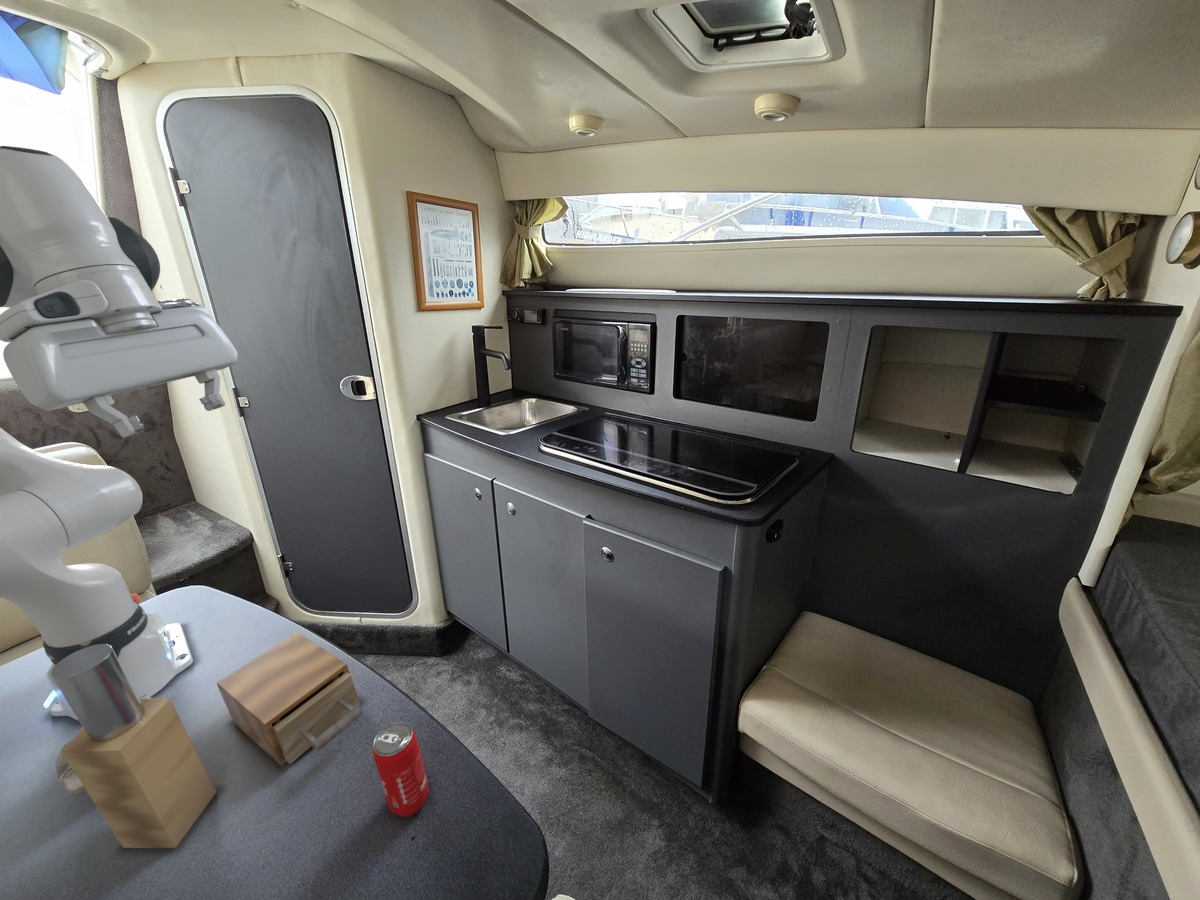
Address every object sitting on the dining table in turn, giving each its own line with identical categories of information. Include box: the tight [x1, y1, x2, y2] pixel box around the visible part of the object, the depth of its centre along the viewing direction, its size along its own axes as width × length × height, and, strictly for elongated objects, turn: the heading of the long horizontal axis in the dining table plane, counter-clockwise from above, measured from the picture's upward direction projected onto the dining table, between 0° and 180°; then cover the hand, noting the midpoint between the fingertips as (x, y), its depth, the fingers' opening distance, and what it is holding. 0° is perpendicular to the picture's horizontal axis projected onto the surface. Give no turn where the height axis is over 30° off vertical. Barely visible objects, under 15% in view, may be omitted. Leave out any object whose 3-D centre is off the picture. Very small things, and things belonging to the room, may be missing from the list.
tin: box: [51, 644, 145, 742], centre depth 58 cm, size 5×5×10 cm
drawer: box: [272, 672, 363, 764], centre depth 77 cm, size 18×11×7 cm, turn 59°
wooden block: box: [60, 698, 217, 849], centre depth 63 cm, size 7×7×18 cm
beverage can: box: [372, 721, 429, 818], centre depth 65 cm, size 5×5×12 cm
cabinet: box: [216, 631, 351, 766], centre depth 79 cm, size 15×13×9 cm
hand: (178, 420), depth 58 cm, fingers open, 8 cm apart
